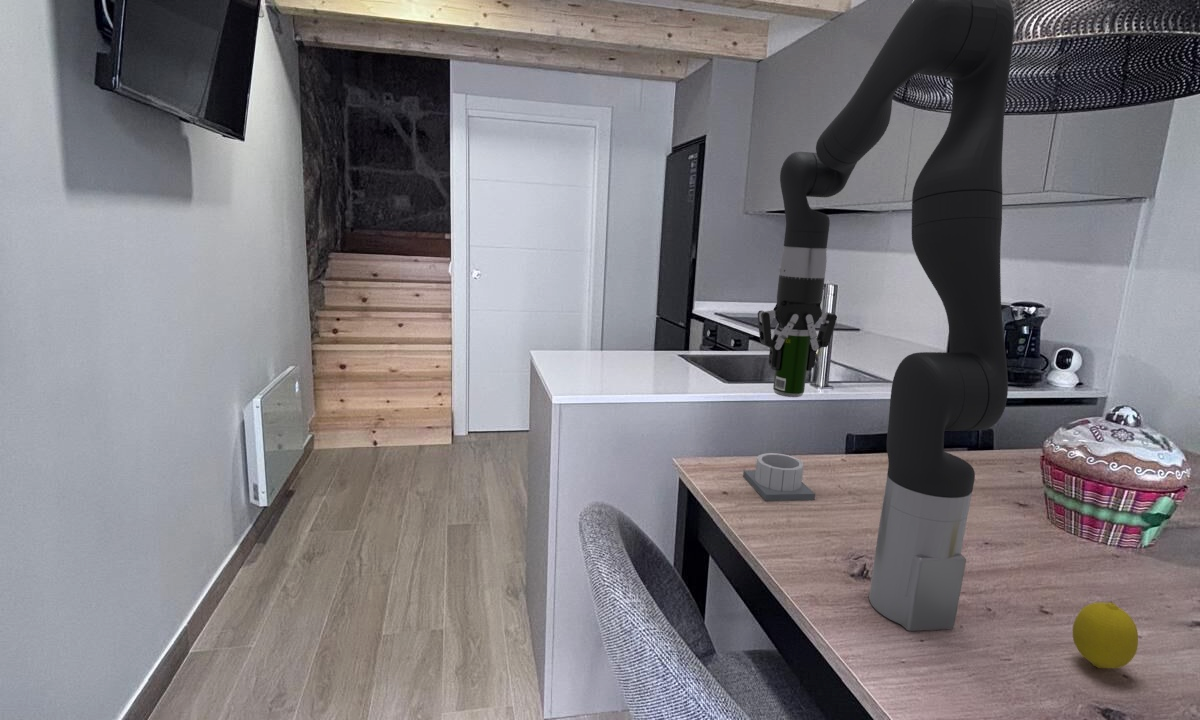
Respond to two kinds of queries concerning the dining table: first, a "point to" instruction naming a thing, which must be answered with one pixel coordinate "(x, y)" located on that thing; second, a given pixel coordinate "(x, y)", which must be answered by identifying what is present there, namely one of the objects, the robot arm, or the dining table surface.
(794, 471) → the flanged pipe fitting
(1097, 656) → the lemon
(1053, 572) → the dining table surface
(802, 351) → the beer can
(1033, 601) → the dining table surface
